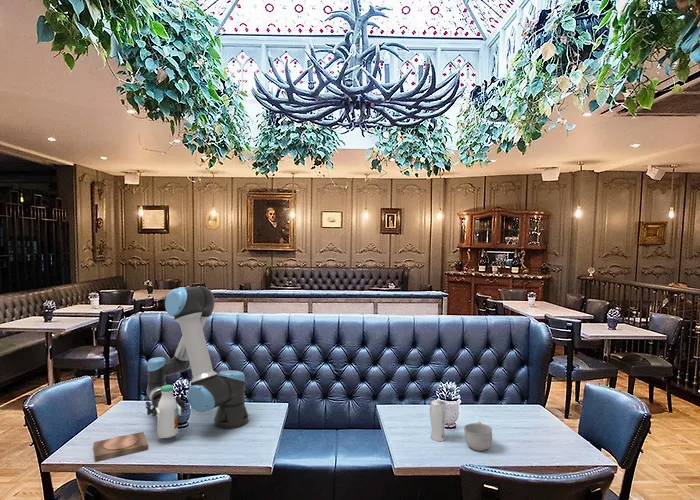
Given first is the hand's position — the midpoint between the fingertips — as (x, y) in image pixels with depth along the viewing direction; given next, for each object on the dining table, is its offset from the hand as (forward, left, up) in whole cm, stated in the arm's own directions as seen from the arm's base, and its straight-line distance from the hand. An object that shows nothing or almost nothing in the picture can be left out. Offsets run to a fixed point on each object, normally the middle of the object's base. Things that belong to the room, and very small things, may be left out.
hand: (169, 413), depth 172 cm
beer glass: (-96, +54, -13) cm, 111 cm away
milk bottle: (0, -5, -10) cm, 11 cm away
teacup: (-105, +68, -13) cm, 126 cm away
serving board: (+17, -7, -12) cm, 22 cm away
